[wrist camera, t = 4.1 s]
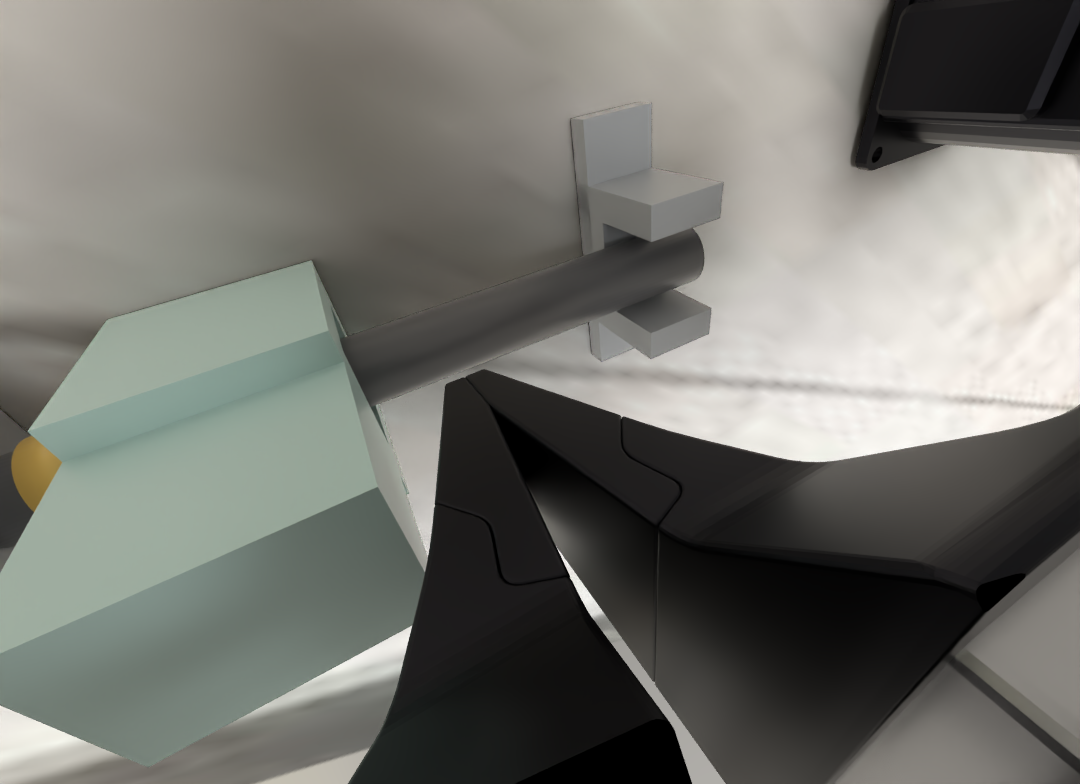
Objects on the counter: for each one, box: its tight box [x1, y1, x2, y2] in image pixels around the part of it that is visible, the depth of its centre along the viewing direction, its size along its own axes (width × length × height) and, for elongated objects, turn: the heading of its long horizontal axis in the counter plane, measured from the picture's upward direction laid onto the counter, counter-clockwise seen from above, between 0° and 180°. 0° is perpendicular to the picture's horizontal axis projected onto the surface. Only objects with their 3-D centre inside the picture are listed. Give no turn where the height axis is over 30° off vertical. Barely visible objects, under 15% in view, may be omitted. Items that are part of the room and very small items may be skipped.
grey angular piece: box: [0, 102, 723, 572], centre depth 10 cm, size 18×7×4 cm, turn 99°
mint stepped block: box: [0, 260, 428, 767], centre depth 8 cm, size 4×4×7 cm
